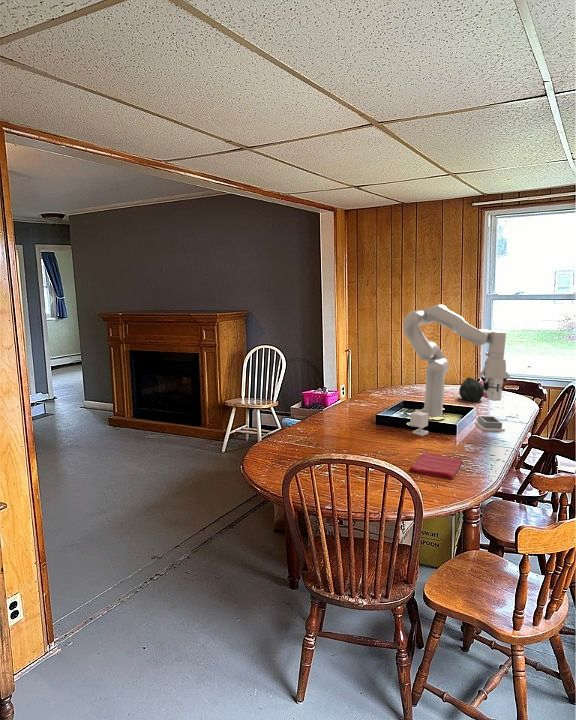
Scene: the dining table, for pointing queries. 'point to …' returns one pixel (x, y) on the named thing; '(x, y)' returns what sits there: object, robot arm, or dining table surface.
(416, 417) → the security camera
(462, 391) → the squash
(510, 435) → the dining table surface
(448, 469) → the dish towel
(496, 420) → the dock board
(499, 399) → the ink box
